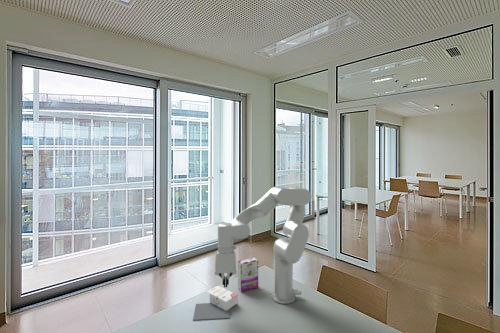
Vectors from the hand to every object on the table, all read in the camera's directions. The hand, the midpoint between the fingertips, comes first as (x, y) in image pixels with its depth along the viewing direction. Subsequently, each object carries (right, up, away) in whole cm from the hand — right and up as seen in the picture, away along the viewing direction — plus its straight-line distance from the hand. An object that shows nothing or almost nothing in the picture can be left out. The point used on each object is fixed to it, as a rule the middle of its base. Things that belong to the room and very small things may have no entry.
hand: (225, 286), depth 125 cm
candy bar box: (+11, -12, +22) cm, 27 cm away
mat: (-6, -12, 0) cm, 14 cm away
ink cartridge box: (+3, -9, +2) cm, 10 cm away
